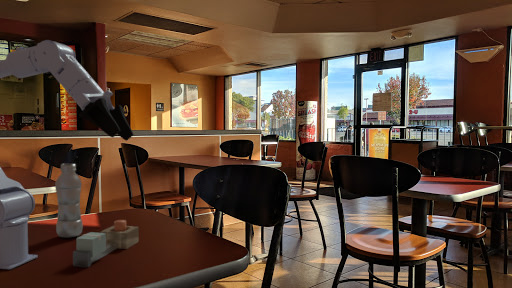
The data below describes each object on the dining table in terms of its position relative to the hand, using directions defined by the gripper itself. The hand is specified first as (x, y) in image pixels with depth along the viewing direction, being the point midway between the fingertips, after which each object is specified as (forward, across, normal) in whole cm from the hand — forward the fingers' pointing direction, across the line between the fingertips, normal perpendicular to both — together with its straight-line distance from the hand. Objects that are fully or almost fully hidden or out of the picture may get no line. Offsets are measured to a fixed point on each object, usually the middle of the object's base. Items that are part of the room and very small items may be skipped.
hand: (123, 135), depth 80 cm
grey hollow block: (+14, +21, +23) cm, 34 cm away
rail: (+14, +12, +25) cm, 31 cm away
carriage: (+13, +9, +24) cm, 29 cm away
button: (+13, +21, +22) cm, 33 cm away
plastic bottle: (+3, +27, +35) cm, 44 cm away
